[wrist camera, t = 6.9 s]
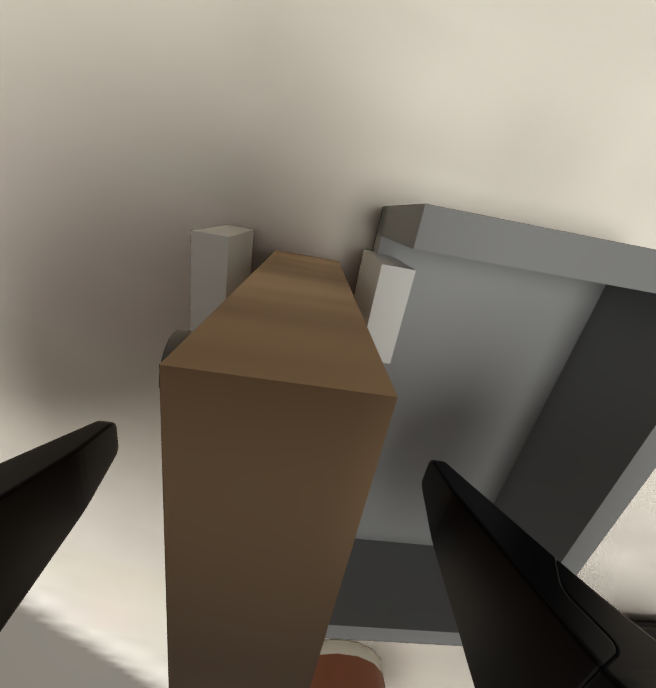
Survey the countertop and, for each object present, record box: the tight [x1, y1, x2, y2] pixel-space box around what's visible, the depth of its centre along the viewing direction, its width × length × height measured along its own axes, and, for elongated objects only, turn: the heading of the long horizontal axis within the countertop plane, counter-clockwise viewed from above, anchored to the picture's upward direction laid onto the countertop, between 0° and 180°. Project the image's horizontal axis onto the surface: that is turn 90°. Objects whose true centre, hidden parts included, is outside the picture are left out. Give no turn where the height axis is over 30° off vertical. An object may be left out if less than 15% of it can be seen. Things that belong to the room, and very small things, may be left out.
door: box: [159, 251, 398, 688], centre depth 8 cm, size 10×3×8 cm, turn 170°
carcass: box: [190, 204, 656, 646], centre depth 10 cm, size 14×12×4 cm
